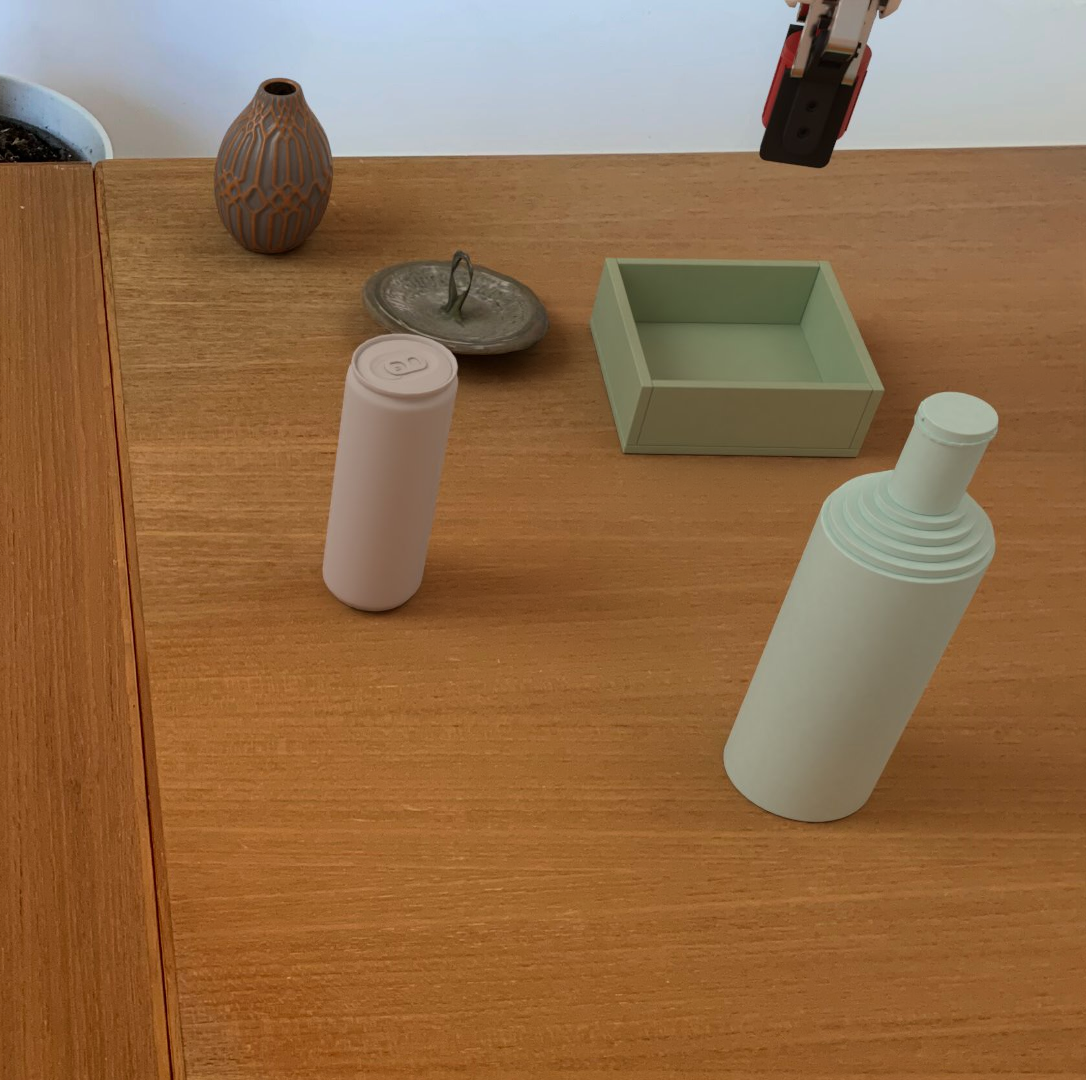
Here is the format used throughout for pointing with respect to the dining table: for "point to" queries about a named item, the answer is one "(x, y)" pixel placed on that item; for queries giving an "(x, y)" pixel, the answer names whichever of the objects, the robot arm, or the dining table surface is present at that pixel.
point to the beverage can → (388, 469)
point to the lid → (456, 305)
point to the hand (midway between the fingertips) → (795, 134)
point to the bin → (732, 358)
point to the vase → (273, 170)
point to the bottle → (866, 621)
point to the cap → (787, 61)
